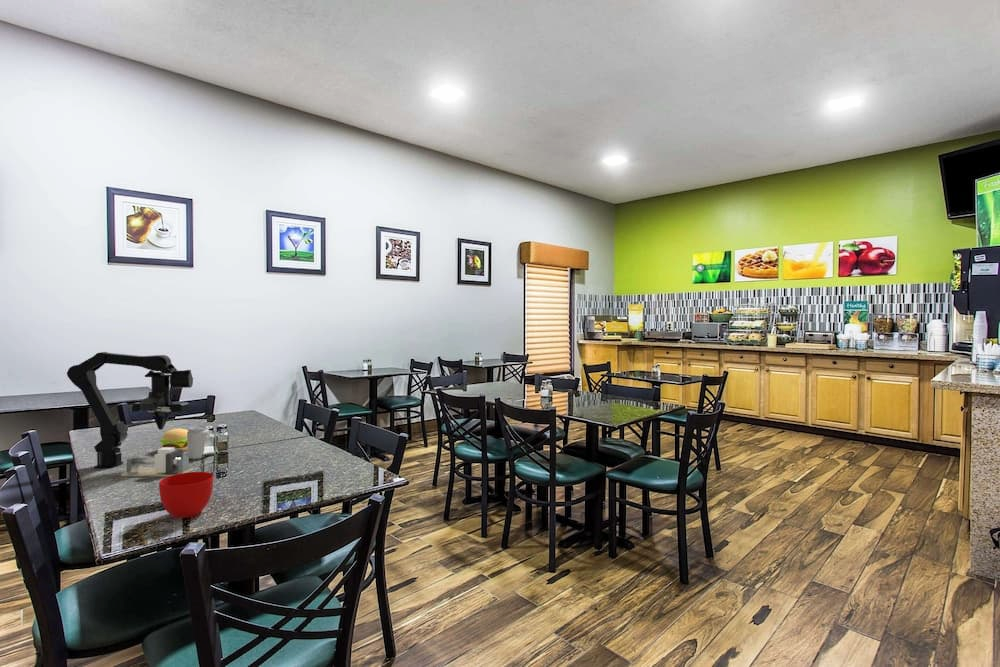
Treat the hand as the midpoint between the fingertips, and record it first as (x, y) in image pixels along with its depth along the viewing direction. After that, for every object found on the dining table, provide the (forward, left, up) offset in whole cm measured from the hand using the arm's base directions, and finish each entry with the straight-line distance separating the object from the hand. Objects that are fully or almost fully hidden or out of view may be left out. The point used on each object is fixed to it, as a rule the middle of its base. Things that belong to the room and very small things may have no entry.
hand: (160, 429), depth 193 cm
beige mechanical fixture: (+8, -13, -12) cm, 20 cm away
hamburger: (-6, +19, -13) cm, 24 cm away
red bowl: (+41, -49, -13) cm, 65 cm away
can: (+10, +7, -13) cm, 18 cm away
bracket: (+11, -13, -12) cm, 21 cm away
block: (+13, -13, -12) cm, 22 cm away
